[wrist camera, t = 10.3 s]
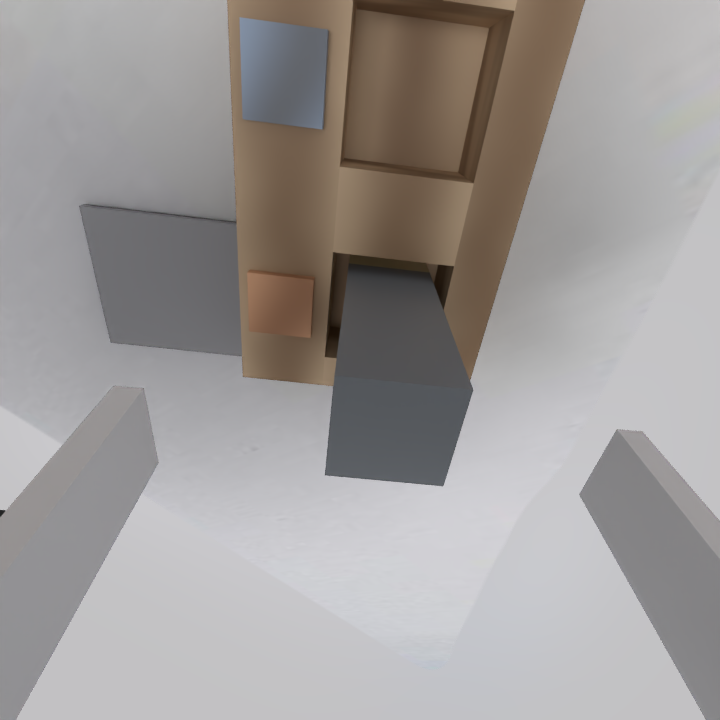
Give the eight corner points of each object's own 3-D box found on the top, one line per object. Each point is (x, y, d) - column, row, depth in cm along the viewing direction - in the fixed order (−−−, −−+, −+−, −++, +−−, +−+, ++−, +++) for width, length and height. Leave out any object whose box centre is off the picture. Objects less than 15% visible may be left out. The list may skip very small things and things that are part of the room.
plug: (343, 319, 24) (325, 475, 14) (350, 251, 22) (334, 375, 12) (411, 326, 24) (443, 486, 14) (424, 259, 22) (473, 389, 12)
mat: (114, 339, 26) (110, 342, 25) (83, 204, 21) (79, 206, 21) (244, 353, 26) (242, 356, 26) (238, 223, 22) (237, 224, 21)
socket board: (259, 340, 25) (240, 380, 22) (253, -62, 16) (218, -113, 12) (451, 361, 26) (465, 403, 22) (552, -18, 17) (606, -54, 13)
